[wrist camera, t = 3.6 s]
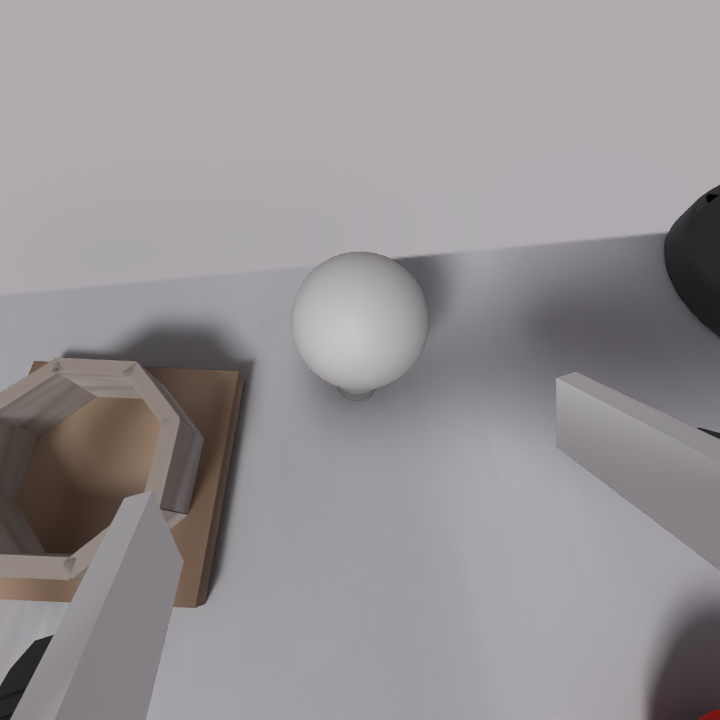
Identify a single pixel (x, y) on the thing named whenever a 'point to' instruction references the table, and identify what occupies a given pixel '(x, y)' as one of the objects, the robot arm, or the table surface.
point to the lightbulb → (359, 322)
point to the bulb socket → (110, 467)
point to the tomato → (711, 715)
